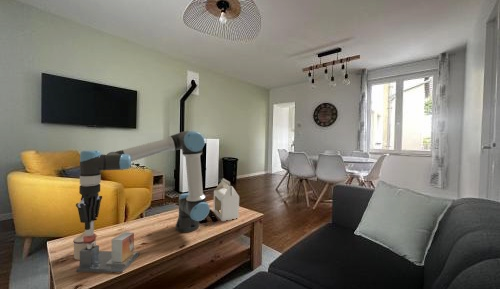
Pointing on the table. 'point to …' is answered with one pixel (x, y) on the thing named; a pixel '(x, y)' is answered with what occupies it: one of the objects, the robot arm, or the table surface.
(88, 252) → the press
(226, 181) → the gable box
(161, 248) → the table surface
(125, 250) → the small box
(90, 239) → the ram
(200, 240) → the table surface
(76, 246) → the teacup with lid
